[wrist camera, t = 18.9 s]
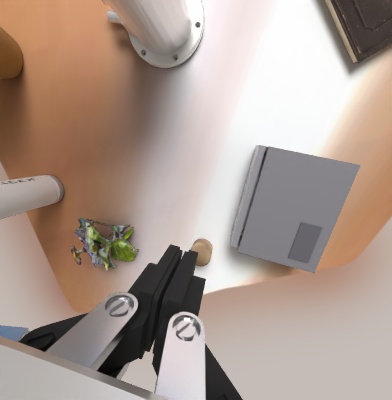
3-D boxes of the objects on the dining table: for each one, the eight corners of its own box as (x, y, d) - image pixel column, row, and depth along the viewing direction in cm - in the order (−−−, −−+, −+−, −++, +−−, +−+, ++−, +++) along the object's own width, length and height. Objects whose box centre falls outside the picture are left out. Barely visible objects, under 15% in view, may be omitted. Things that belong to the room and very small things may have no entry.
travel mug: (51, 208, 45) (-81, 251, 26) (34, 183, 44) (-116, 208, 25) (70, 195, 43) (-57, 232, 24) (53, 169, 43) (-94, 185, 24)
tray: (231, 235, 38) (230, 246, 34) (255, 145, 34) (259, 145, 29) (296, 252, 37) (304, 266, 32) (331, 161, 32) (346, 163, 28)
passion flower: (116, 228, 50) (62, 222, 40) (144, 209, 45) (91, 198, 35) (120, 274, 45) (61, 280, 36) (153, 259, 40) (94, 261, 31)
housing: (237, 235, 39) (238, 252, 32) (262, 147, 34) (269, 146, 28) (300, 252, 37) (314, 273, 31) (335, 162, 33) (361, 165, 26)
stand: (191, 253, 42) (187, 262, 38) (195, 236, 40) (191, 244, 37) (209, 258, 41) (207, 268, 38) (214, 241, 40) (212, 250, 37)
